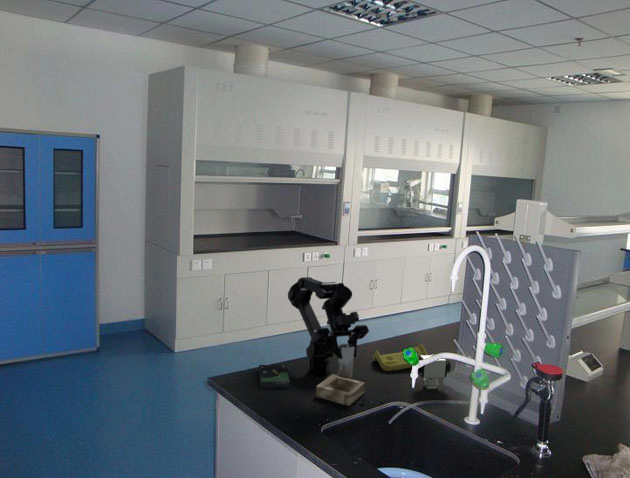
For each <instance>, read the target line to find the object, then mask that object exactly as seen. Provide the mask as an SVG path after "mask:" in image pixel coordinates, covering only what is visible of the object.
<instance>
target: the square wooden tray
mask: <svg viewBox="0 0 630 478" xmlns="http://www.w3.org/2000/svg"><path fill="white" fill-rule="evenodd" d="M365 384H366V382H363V381H360V380H355V379H352V378H347V379H346V378H340V377H338V376H337V374H333V373H332V374H331V375H330V376H328V377H327V378H325V379H324V380H323V381H322V382H321V383H319V384H317V385H316V390H315V397H316V398H320V399H324V400H328V401H331V402H333V403H337V404H340V405H345V406H347V407H351V405H353V403H355V402H356V401H357V400H358V399H359V398H361V396H362V395H363V394H365Z"/></svg>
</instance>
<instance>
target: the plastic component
mask: <svg viewBox="0 0 630 478" xmlns="http://www.w3.org/2000/svg"><path fill="white" fill-rule="evenodd" d="M413 348H414V349H415V351H416V352H417V354H418V357H419V355H428V352H427V349H426V348H425V346H424V344H423V343H421V344H418V345H416V346H414V347H413ZM403 352H404V351H401V352H395V353H394V352H393V353H388V354H382V355H381V353H380V352H379V351H378V350H375V351H374V353H373V356H372V360H373V361H374V362H377V363H378V364H379V366H380V368H381V369H382V370H383V371H387V372H391V371H392V370H393V371H398V370H405V369H411V368H412V367H411V365H410V364H408V363H407V362H406V361H405V360H404V359H403V355H402V353H403Z"/></svg>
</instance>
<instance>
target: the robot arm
mask: <svg viewBox="0 0 630 478" xmlns="http://www.w3.org/2000/svg"><path fill="white" fill-rule="evenodd" d="M314 293H315V296H316V298H318V299H319V300H325V301H324V302H323V305H322V306H321V310H324V312H325V314H326V319H327V321H326V324H327V326H328V325H329V328H328V327H324V328H323V327H322V326H321V324H320V322H319V320H318V317H317V315H316V314H315V311H314V309H313V307H312V305H311V300H312V295H313V294H314ZM352 297H353V292H352V290H351V289H350V288H349V287H348V286H346V285H345V284H344V283H343V282H339V283H337V282H336V281H330V282H327V281H325V282H323V281H320V280H317V279H314V278H312V277H310V276H309V277H308V276H307V277H306V276H305V277H304V276H303V277H300V278H298V280H297V282H295V283H293V285H291V286H290V287H289V290H288V292H287V298H288V299H287V300H288V301H289V302H290V304H291V306H293V307H294V308H295V309H297V310H298V311H299V313H300V314H299V315H301V318H302V321H303V322H304V326H305V327H306V329H307V331H308V334H309V336H310V340H309V345H308V346H307V347H306V349H305V352H306V356H307V357H308V358H309V364H308V365H309V368H308V370H307V371H306V373H307V374H310V375H313V376H316V377H317V376H318V377H321V378H323V377H325V376H326V375H328V374H329V373H331V369H330V367H331V366H330V365H331V364H330V363H331V362H330V358H333V357H334V355H336V356H337V359H338V358H339V359H341V358H342V356H341V352H340V349H339V343H338V337H339V338H340V337H348V340H347V344H351V345H353V346H354V358H357V348H358V347H357V346H358V345H357V344H358V340H362V339H364V338H365V336H367V334H368V333H370V331H369V327H368V326H367V325H366V324H357V325H355V324H356V322H359V321H360V317H359V313H358V312H357V311H352V312H349V314H346V313H345V312H344V311H343V308H344V307H345V306H346V305H347V304H348V302H350V300H351V299H352ZM352 325H355V327H353V328H352V329H350V328H351V327H352Z"/></svg>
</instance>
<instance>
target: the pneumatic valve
mask: <svg viewBox="0 0 630 478" xmlns="http://www.w3.org/2000/svg"><path fill="white" fill-rule="evenodd" d="M434 355H435V354H434V353H433V354H430V355H429V354H427V355H419V357H418V359H419V360H423V359H426V358H429V357H431V356H434ZM451 369H452V366H451V361H450V360H448V359H447V358H446V359H439V360H436V361H434V362H432V363H429V364H427V365H424V366H423V367H421V368H419V369H418V373H417V374H418V375H419V376H420V377H421V378H423V380H422V387H425V389H427V390H437V389H438V387H439V385H440V381H439V379H438V378H447V375H448V374H449V373H450V371H451Z"/></svg>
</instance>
